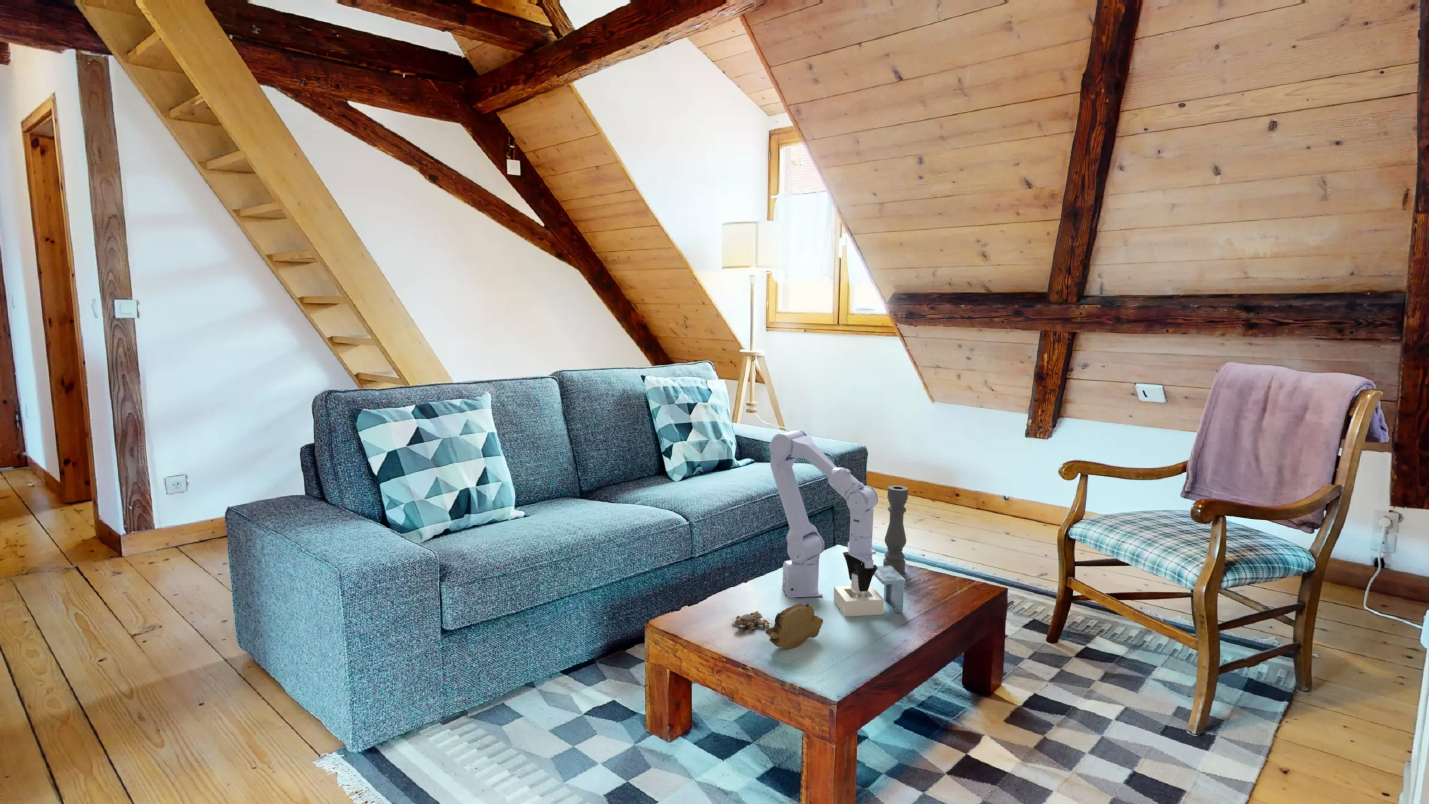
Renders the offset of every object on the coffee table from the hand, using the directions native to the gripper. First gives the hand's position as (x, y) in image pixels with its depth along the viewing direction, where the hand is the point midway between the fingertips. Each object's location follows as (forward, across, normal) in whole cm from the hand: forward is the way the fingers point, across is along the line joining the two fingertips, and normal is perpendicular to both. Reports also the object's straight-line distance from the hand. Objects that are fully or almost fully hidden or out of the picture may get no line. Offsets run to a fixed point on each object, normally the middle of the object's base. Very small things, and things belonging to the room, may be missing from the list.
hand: (858, 585), depth 208 cm
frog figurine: (+7, -7, +30) cm, 31 cm away
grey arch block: (+6, 0, -8) cm, 10 cm away
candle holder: (+6, +24, -19) cm, 31 cm away
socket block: (+6, 0, 0) cm, 6 cm away
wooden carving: (+6, -19, +22) cm, 30 cm away
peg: (+5, 0, 0) cm, 5 cm away
